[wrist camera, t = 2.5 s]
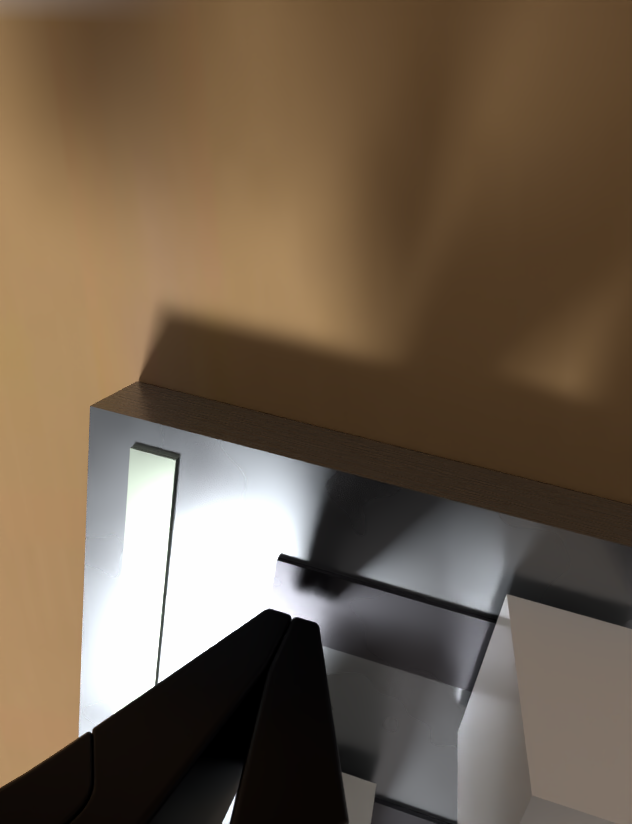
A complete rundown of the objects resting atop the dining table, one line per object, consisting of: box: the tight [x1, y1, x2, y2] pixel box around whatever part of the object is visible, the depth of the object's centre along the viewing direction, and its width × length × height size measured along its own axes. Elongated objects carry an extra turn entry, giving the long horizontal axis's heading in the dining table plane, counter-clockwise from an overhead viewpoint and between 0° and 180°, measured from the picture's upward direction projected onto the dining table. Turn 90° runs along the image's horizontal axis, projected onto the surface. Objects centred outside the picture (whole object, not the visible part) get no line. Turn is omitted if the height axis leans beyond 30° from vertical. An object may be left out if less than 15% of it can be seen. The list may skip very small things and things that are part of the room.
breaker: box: [458, 594, 632, 824], centre depth 7 cm, size 2×3×3 cm
